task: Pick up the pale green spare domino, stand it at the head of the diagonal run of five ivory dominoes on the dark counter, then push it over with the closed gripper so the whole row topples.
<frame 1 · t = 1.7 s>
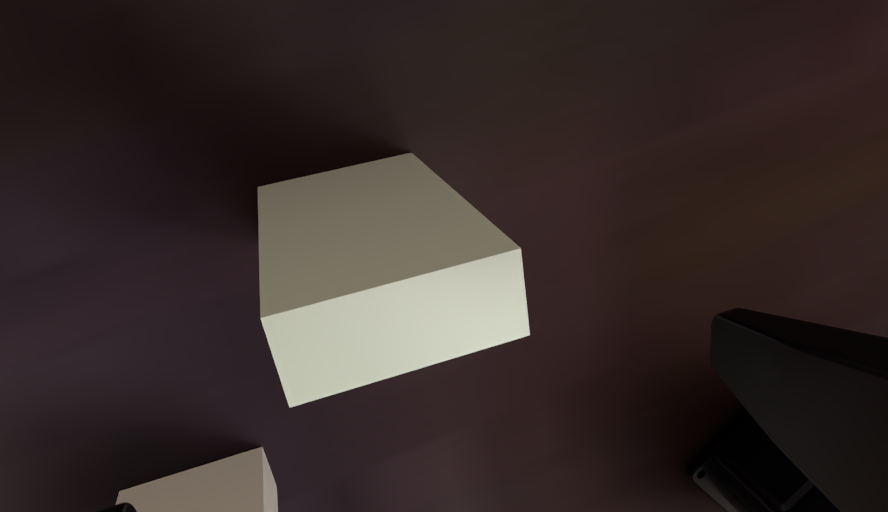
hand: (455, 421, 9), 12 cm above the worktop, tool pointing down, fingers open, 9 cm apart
domino 1: (201, 488, 22), on the worktop
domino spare: (343, 198, 19), on the worktop
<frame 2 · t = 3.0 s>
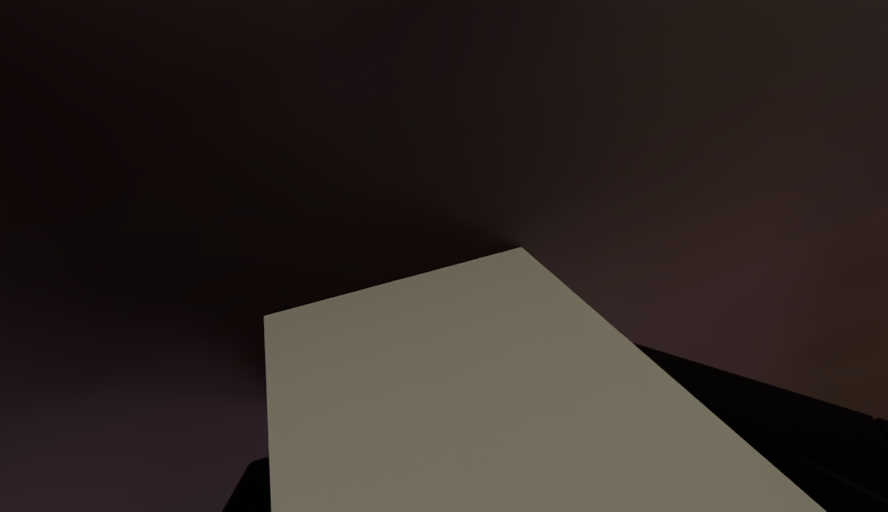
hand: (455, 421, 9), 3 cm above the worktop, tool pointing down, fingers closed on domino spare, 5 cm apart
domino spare: (407, 325, 12), on the worktop, touching gripper
when the fingers open (4 cm above the worktop, at t = 6.8 s): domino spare stays where it is, on the worktop.
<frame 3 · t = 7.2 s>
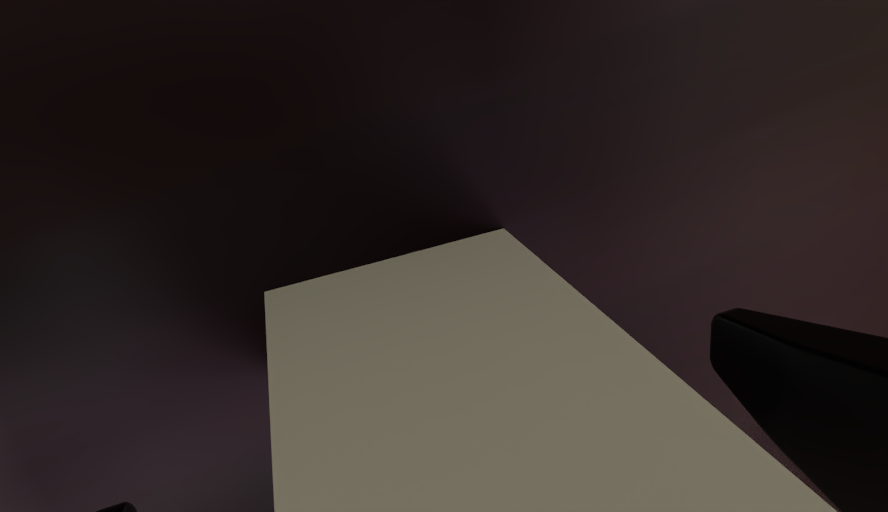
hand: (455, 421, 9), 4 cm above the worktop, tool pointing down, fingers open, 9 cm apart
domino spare: (398, 301, 12), on the worktop
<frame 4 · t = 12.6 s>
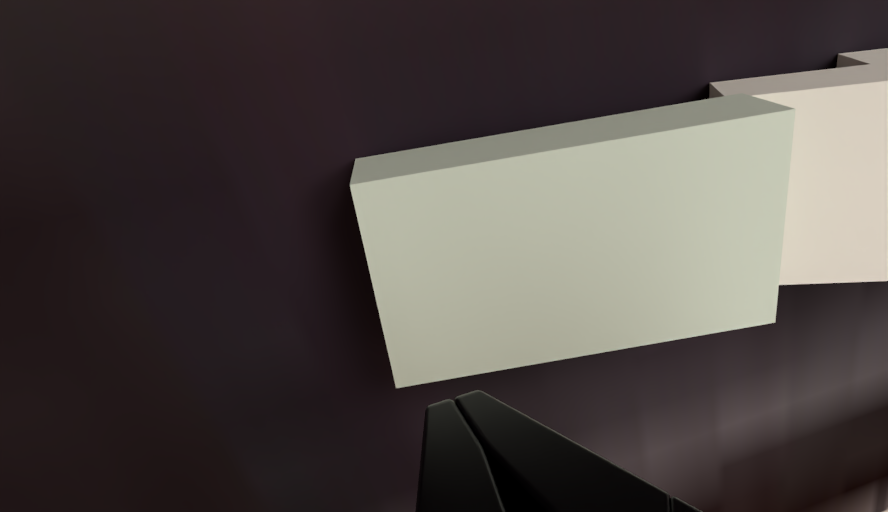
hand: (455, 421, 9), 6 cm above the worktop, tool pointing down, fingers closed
domino 1: (714, 186, 16), point 1 cm above the worktop, tilted 62°, touching domino 2, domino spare
domino 2: (840, 151, 17), point 1 cm above the worktop, tilted 63°, touching domino 1, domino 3
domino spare: (375, 274, 14), point 1 cm above the worktop, tilted 78°, touching domino 1
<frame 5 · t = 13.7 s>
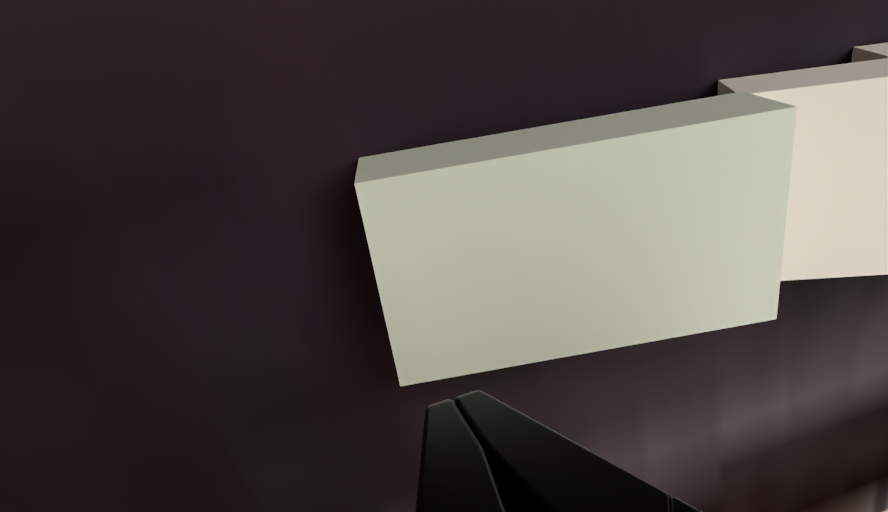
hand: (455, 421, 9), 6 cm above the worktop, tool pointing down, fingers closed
domino 1: (724, 182, 16), point 1 cm above the worktop, tilted 64°, touching domino 2, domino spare
domino 2: (857, 144, 17), point 1 cm above the worktop, tilted 64°, touching domino 1
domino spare: (379, 273, 14), point 1 cm above the worktop, tilted 78°, touching domino 1
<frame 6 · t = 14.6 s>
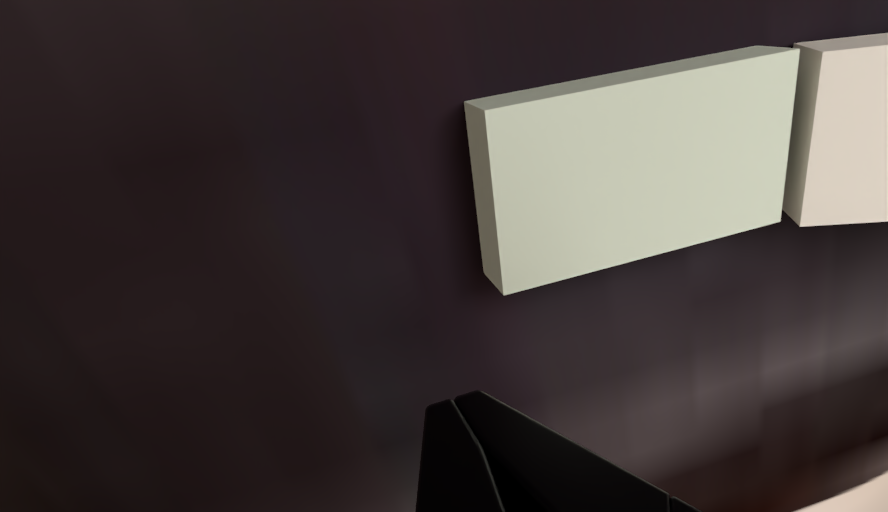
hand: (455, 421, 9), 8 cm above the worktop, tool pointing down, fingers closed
domino 1: (796, 135, 18), point 1 cm above the worktop, tilted 65°, touching domino 2
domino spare: (481, 198, 16), point 1 cm above the worktop, tilted 90°
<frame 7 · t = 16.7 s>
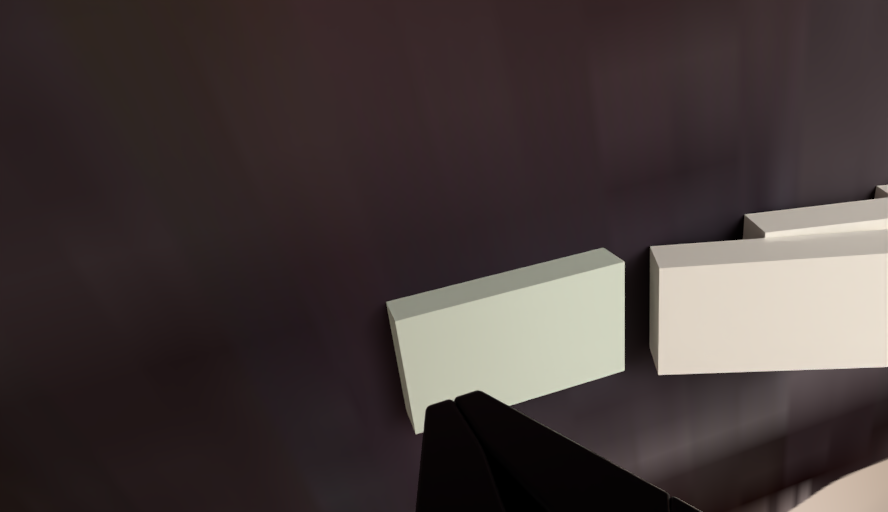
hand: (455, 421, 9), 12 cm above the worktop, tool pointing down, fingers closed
domino 1: (654, 311, 25), point 1 cm above the worktop, tilted 66°, touching domino 2
domino 2: (750, 276, 25), point 1 cm above the worktop, tilted 71°, touching domino 1, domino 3
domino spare: (399, 366, 22), point 1 cm above the worktop, tilted 90°
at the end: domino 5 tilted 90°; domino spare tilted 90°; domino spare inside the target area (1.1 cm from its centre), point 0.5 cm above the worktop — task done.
